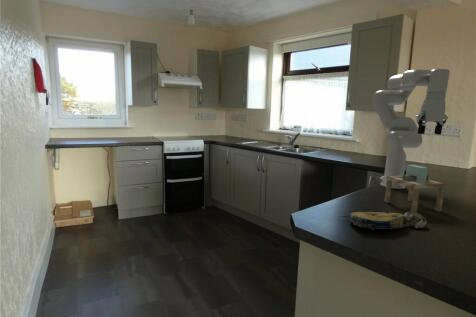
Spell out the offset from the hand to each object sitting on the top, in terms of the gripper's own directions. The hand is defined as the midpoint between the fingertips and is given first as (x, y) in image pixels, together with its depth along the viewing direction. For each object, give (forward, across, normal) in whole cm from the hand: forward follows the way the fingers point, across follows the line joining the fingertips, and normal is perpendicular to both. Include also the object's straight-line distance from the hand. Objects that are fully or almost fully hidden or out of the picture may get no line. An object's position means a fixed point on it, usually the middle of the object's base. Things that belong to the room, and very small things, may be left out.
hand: (429, 134), depth 140 cm
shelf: (+31, +15, +11) cm, 36 cm away
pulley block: (+31, +44, +30) cm, 61 cm away
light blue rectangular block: (+21, +15, +11) cm, 28 cm away
